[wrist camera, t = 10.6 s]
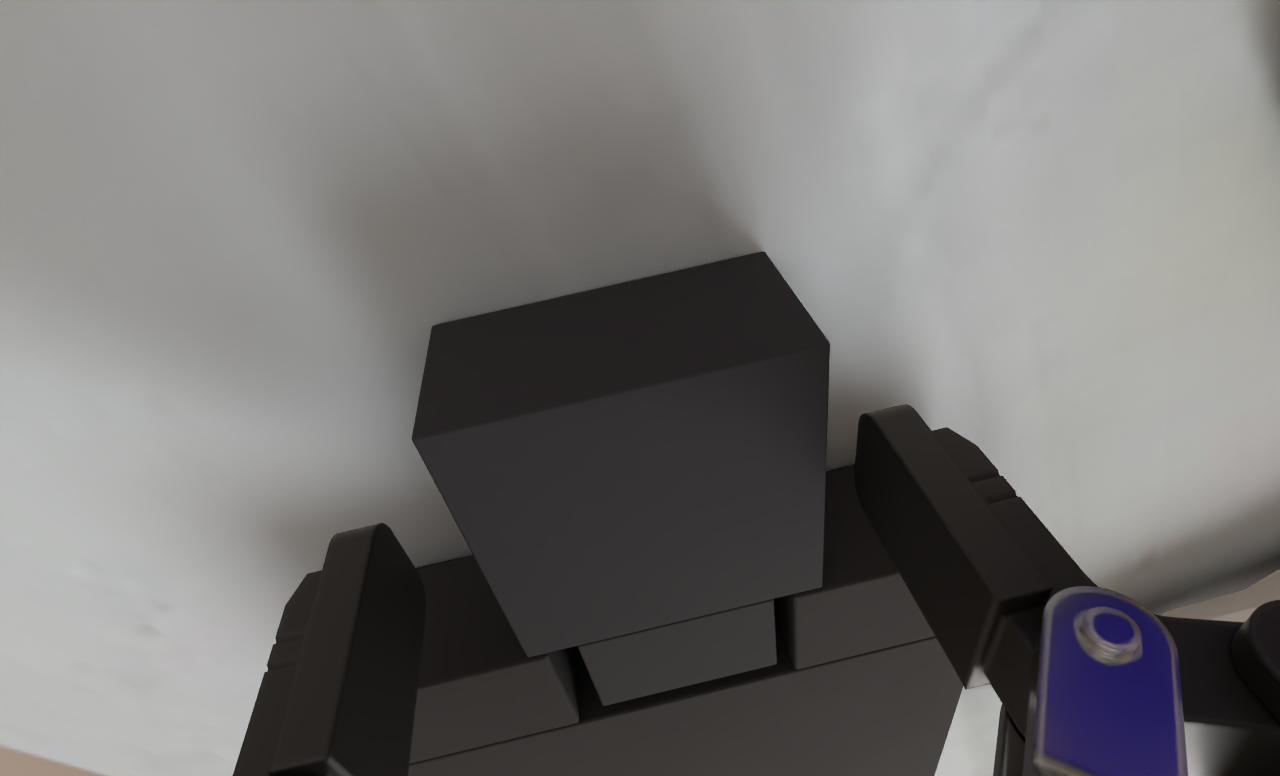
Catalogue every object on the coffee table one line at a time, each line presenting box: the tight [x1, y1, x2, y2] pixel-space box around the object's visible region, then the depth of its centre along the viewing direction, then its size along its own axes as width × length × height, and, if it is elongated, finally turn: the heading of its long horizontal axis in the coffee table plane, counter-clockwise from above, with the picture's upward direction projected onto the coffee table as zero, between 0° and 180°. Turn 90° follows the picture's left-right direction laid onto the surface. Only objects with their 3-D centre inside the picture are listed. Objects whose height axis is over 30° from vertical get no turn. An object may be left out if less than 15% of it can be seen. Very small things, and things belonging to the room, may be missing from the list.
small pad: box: [412, 252, 830, 706], centre depth 13 cm, size 9×6×3 cm
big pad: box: [408, 466, 963, 776], centre depth 19 cm, size 16×14×3 cm
